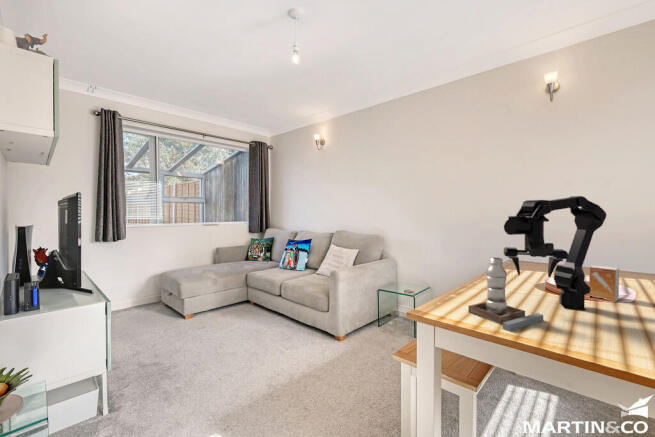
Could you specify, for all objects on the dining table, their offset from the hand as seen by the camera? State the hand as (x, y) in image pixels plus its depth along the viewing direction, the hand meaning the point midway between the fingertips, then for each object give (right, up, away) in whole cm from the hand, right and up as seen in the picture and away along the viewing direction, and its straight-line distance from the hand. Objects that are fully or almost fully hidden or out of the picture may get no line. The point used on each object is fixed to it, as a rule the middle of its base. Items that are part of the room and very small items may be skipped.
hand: (533, 276), depth 106 cm
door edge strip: (-12, -14, -12) cm, 21 cm away
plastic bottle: (-16, -13, -3) cm, 21 cm away
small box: (+39, -12, +13) cm, 42 cm away
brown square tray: (-16, -14, -3) cm, 21 cm away
